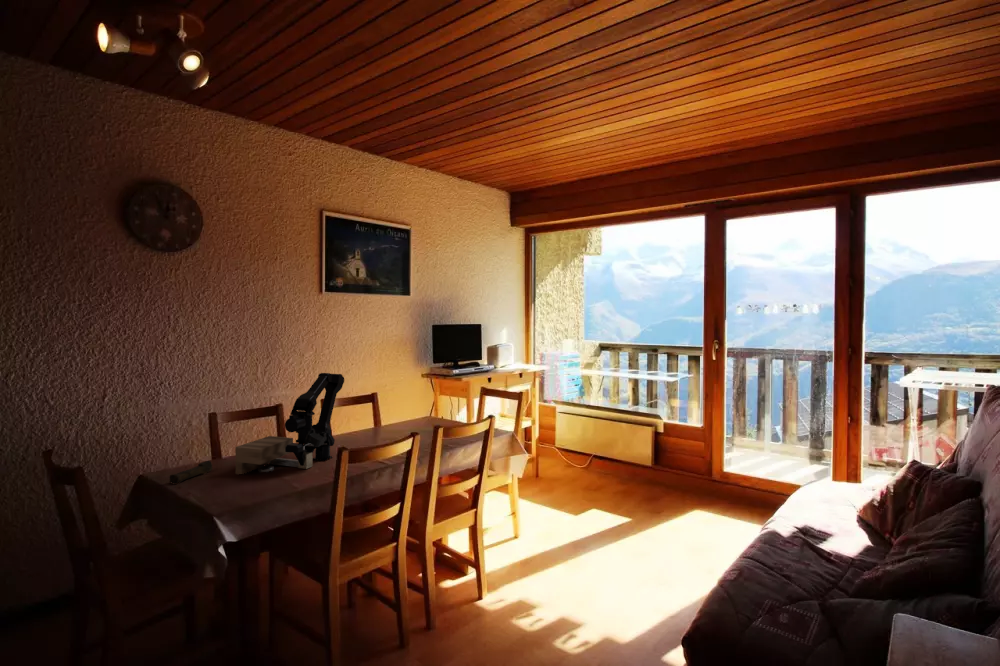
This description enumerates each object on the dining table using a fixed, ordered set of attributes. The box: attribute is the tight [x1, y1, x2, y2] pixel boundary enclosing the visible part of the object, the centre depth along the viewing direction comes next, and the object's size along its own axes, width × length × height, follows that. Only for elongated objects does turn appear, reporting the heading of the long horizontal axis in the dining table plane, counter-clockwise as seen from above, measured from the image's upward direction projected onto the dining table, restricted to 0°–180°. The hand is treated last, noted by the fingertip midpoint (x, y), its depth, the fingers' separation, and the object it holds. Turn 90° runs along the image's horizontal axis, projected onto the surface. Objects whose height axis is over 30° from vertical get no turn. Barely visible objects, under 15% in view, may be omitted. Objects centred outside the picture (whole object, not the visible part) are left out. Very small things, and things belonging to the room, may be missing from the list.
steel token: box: [257, 464, 275, 473], centre depth 222 cm, size 6×6×2 cm
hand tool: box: [169, 460, 213, 484], centre depth 212 cm, size 19×4×5 cm, turn 163°
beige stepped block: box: [234, 435, 294, 475], centre depth 224 cm, size 20×12×11 cm, turn 164°
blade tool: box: [269, 452, 313, 470], centre depth 228 cm, size 4×19×6 cm, turn 74°
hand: (305, 464), depth 226 cm, fingers closed on blade tool, 4 cm apart
